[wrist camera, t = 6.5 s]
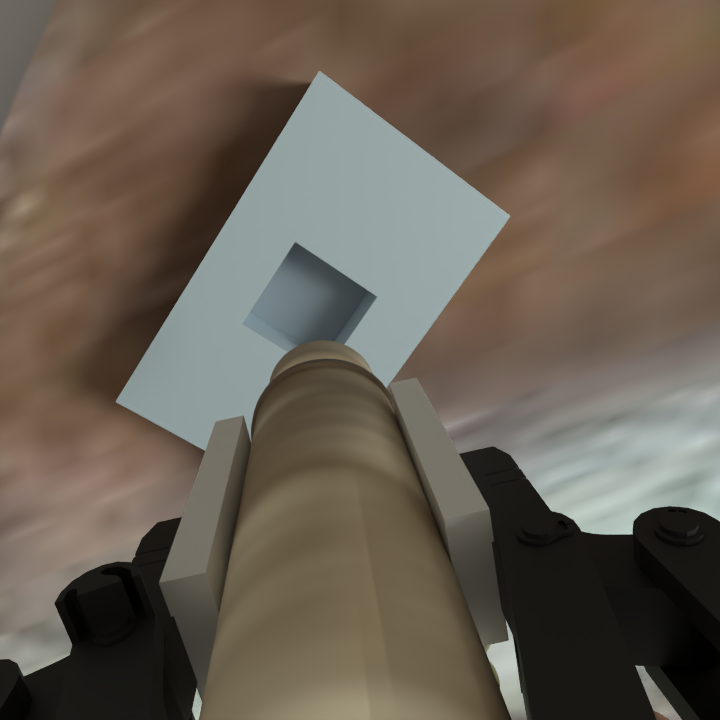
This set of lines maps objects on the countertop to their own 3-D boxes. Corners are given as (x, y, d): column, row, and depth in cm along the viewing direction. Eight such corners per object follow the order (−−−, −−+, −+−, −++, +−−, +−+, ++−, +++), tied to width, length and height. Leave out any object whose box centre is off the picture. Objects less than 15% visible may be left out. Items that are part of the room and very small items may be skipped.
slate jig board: (302, 471, 39) (302, 503, 35) (135, 377, 36) (115, 401, 32) (487, 211, 35) (510, 216, 31) (317, 83, 32) (319, 70, 28)
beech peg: (253, 442, 20) (106, 1237, 5) (266, 323, 19) (127, 901, 4) (373, 454, 21) (564, 1206, 6) (394, 339, 20) (701, 901, 4)
